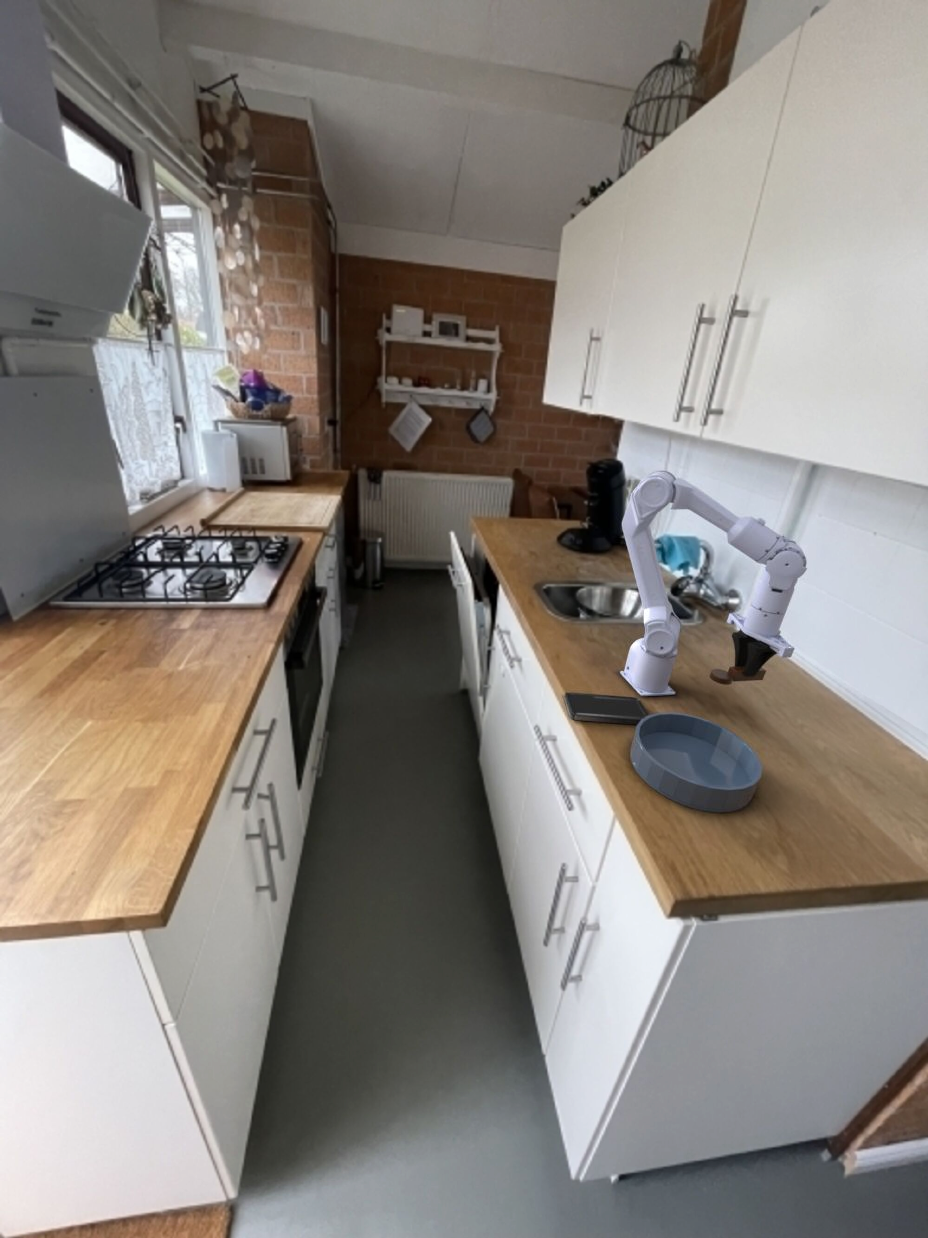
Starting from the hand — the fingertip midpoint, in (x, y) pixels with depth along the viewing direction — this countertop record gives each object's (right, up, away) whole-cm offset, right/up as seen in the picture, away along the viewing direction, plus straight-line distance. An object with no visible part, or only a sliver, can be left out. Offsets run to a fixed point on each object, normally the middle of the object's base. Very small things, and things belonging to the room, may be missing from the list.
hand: (744, 672), depth 99 cm
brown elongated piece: (-2, -1, 0) cm, 2 cm away
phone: (-27, -7, 0) cm, 28 cm away
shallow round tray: (-17, -15, -14) cm, 26 cm away
